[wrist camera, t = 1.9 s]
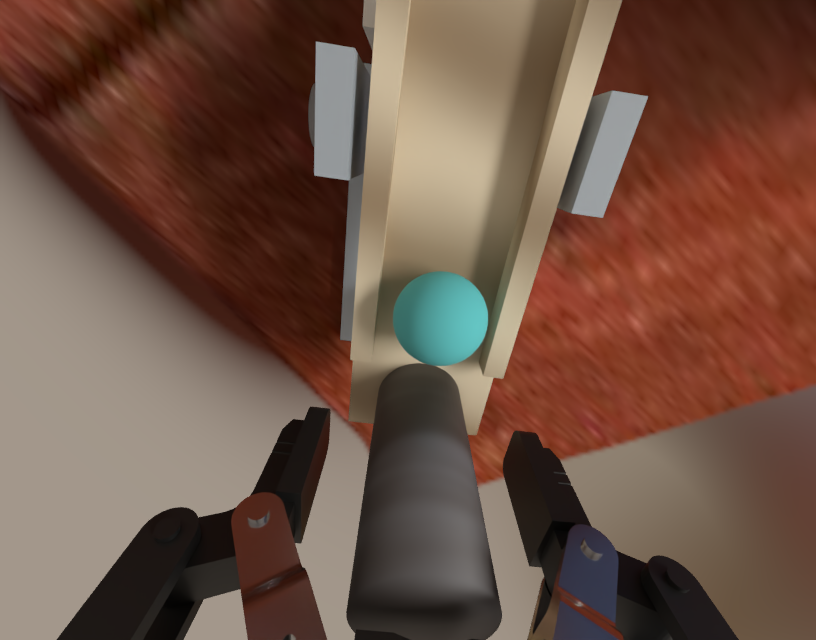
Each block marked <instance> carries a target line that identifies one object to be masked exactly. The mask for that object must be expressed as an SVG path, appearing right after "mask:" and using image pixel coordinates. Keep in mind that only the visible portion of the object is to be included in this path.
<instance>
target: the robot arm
mask: <svg viewBox="0 0 816 640" xmlns="http://www.w3.org/2000/svg"><path fill="white" fill-rule="evenodd" d="M329 432H330V409H327V408H319V407H310V408H309V410H308V412H307V415H306V417H305V420H295V419H293V420H292V421H291V422H290V423H289V424H288V425H286V426H285V427H284V428H283V429H282V431H281V433H280V436H279V438H278V440H277V443H276V445H275V446H274V449H273V451H272V453H271V455H270V457H269V459H268V461H267V463H266V465H265V467H264V470H263V472H262V474H261V476H260V478H259V480H258V482H257V484H256V487H255V489H254V491H253V492H252V494H251V495H250V496H249V497H247V498H246V499H244V500H243V501H242V502H241V503H240V504H239V505H238V506H237V507H236V508H234V509H232V510H229V511H227V512H223V513H219V514H213V515H208V516H203V517H199V518H198V516H197V514H196V513H195V512H194V511H193V510H191V509H189V508H183V507H180V508H172V509H169V510H166V511H163V512H161V513H160V514H158V515H156V516H154V517H153V518H152V519H150V520H149V521H148V522H147V523H146V524H145V525H144V526H143V527H142V528H141V530H140V531H139V532H138V534H137V535H136V537H135V538H134V539H133V540H132V542H131V543H130V544H129V546H128V547H127V548H126V549H125V551H124V552H123V553H122V555H121V556H120V557H119V559H118V560H117V561H116V563H115V564H114V565H113V566H112V568H111V569H110V570H109V572H108V573H107V574H106V576H105V577H104V579H103V580H102V581H101V582H100V584H99V585H98V587H96V589H95V590H94V591H93V593H92V594H91V595H90V597H89V598H88V599H87V601H86V602H85V603H84V604H83V606H82V607H81V608H80V610H79V611H78V612H77V614H76V615H75V616H74V618H73V619H72V621H70V623H69V624H68V626H67V627H66V628H65V629H64V631H63V632H62V633H61V635H60V636H59V637H58V639H57V640H184V637H185V636H186V633H187V632H188V630H189V628H190V626H191V623H192V622H193V620H194V618H195V616H196V614H197V612H198V610H199V608H200V606H201V604H202V602H203V600H204V599H206V598H209V597H213V596H217V595H220V594H224V593H227V592H231V591H235V590H238V589H241V596H242V602H243V609H244V616H245V623H246V630H247V637H248V640H327V638H326V634H325V631H324V628H323V624H322V621H321V617H320V614H319V611H318V607H317V604H316V601H315V597H314V594H313V590H312V587H311V584H310V580H309V577H308V575H307V572H306V570H305V568H303V567H302V565H301V563H300V559H299V556H298V553H297V549H296V546H295V543H301V542H302V539H303V535H304V532H305V528H306V525H307V521H308V518H309V514H310V511H311V507H312V504H313V500H314V497H315V493H316V490H317V486H318V483H319V479H320V475H321V472H322V469H323V465H324V462H325V458H326V455H327V450H328V444H329ZM503 474H504V478H505V482H506V485H507V488H508V492H509V496H510V499H511V503H512V506H513V510H514V513H515V517H516V520H517V524H518V528H519V531H520V535H521V538H522V542H523V545H524V549H525V552H526V556H527V560H528V563H529V566H534V567H542V570H543V573H544V578H543V580H542V582H541V586H540V590H539V594H538V599H537V603H536V606H535V610H534V615H533V619H532V623H531V627H530V631H529V635H528V639H527V640H738V638H737V637H736V635H735V634H734V632H733V631H732V629H731V628H730V627H729V625H728V624H727V622H726V621H725V619H724V618H723V617H722V615H721V614H720V612H719V611H718V610H717V608H716V606H715V605H714V604H713V602H712V601H711V599H710V598H709V596H708V595H707V593H706V592H705V591H704V589H703V588H702V586H701V585H700V583H699V582H698V581H697V580H696V578H695V577H694V576H693V575H692V574H691V573H690V572H689V571H688V570H687V569H686V568H685V567H683V566H682V565H681V564H679V563H678V562H676V561H674V560H672V559H670V558H668V557H664V556H654V557H652V558H651V559H650V560H649V561H648V563H644V562H642V561H640V560H637V559H635V558H632V557H630V556H627V555H625V554H623V553H620V552H618V551H616V550H615V548H614V546H613V545H612V543H611V542H610V541H609V540H608V539H607V537H606V536H604V535H603V534H602V533H601V532H600V531H598V530H596V529H595V528H593V527H592V526H591V524H590V522H589V521H588V518H587V516H586V514H585V512H584V510H583V508H582V506H581V504H580V501H579V499H578V497H577V496H576V493H575V491H574V489H573V487H572V486H571V483H570V481H569V479H568V476H567V475H566V472H565V470H564V468H563V466H562V464H561V462H560V460H559V459H558V458H557V457H556V455H555V454H554V453H553V452H552V451H551V450H550V449H549V448H543V446H542V444H541V442H540V440H539V437H538V435H537V434H536V433H532V432H524V431H514V433H513V435H512V438H511V441H510V443H509V446H508V449H507V452H506V454H505V457H504V461H503ZM355 640H410V639H408V638H405V637H403V636H401V635H398V634H396V633H394V632H382V631H370V630H358V629H356V632H355ZM469 640H478V639H469Z"/></svg>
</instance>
